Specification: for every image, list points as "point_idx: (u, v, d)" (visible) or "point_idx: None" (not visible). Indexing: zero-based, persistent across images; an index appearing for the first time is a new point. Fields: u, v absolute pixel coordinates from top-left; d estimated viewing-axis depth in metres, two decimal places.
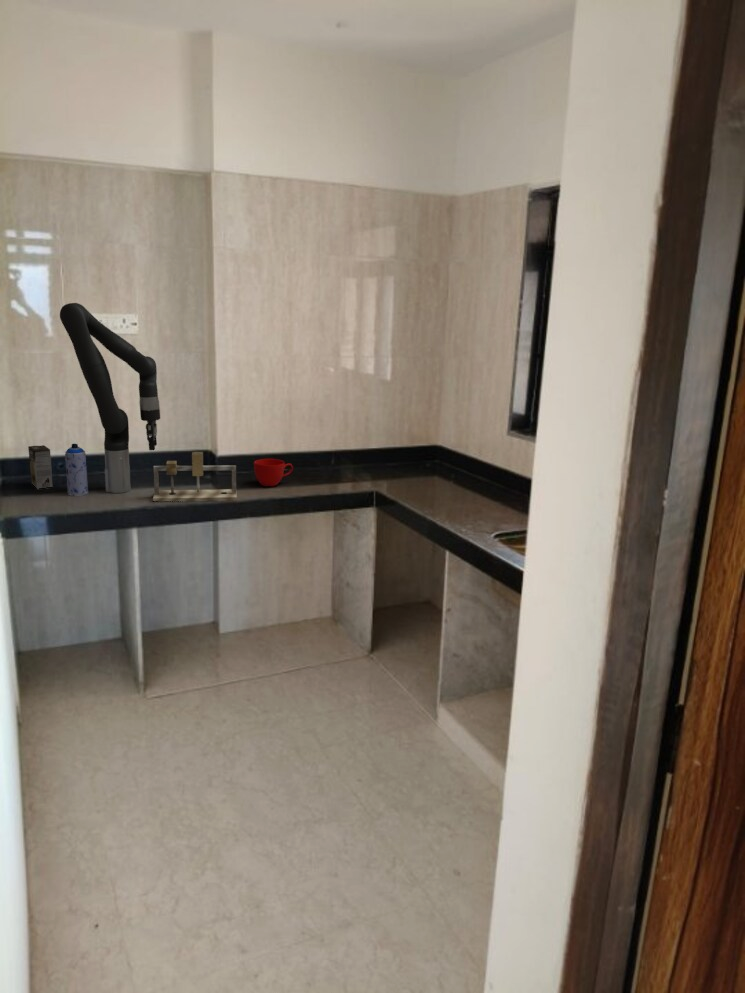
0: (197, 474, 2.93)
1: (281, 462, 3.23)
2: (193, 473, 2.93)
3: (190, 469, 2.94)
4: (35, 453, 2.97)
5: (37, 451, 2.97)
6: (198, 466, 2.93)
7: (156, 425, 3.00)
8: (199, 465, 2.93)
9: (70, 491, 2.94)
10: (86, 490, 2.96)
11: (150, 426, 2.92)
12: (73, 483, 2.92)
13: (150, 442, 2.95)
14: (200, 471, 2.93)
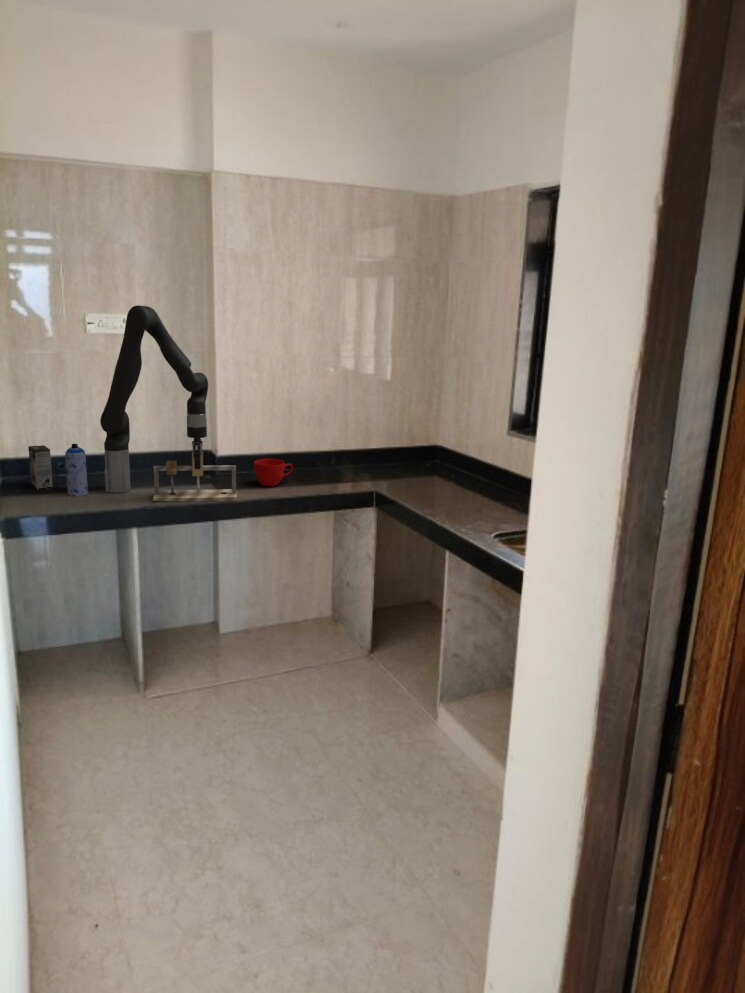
0: (197, 474, 2.93)
1: (281, 462, 3.23)
2: (193, 473, 2.93)
3: (190, 469, 2.94)
4: (35, 453, 2.97)
5: (37, 451, 2.97)
6: None
7: None
8: None
9: (70, 491, 2.94)
10: (86, 490, 2.96)
11: (197, 446, 2.86)
12: (73, 483, 2.92)
13: (196, 461, 2.91)
14: (200, 471, 2.93)
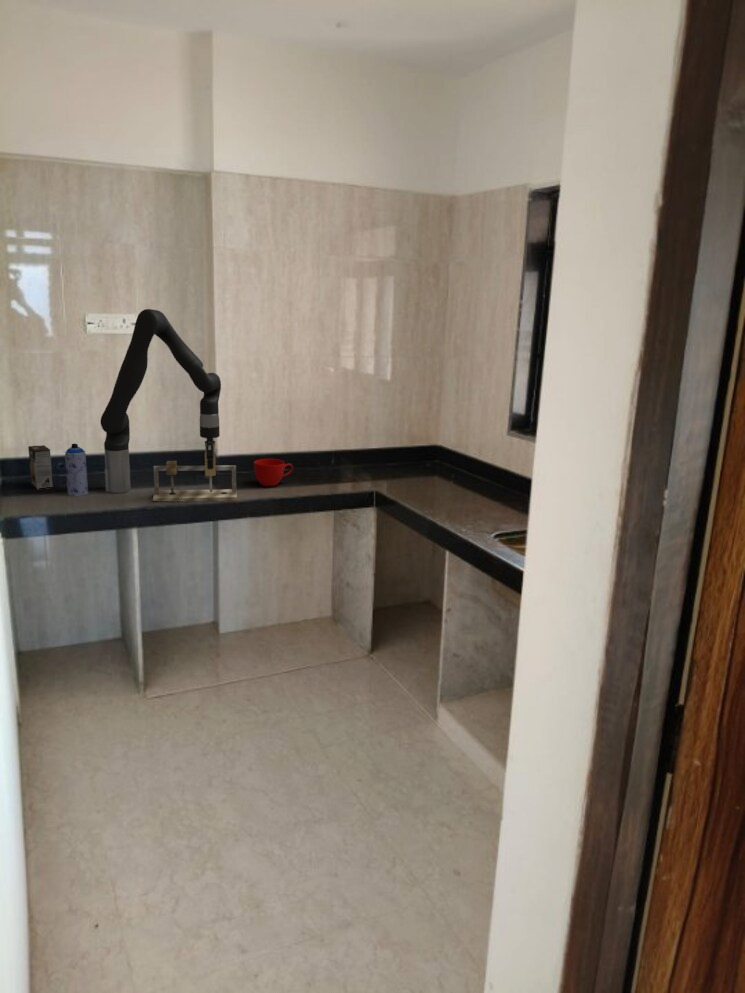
0: (210, 474, 2.94)
1: (281, 462, 3.23)
2: (206, 473, 2.94)
3: (190, 469, 2.94)
4: (35, 453, 2.97)
5: (37, 451, 2.97)
6: None
7: None
8: None
9: (70, 491, 2.94)
10: (86, 490, 2.96)
11: (210, 446, 2.87)
12: (73, 483, 2.92)
13: (209, 461, 2.92)
14: (213, 471, 2.94)
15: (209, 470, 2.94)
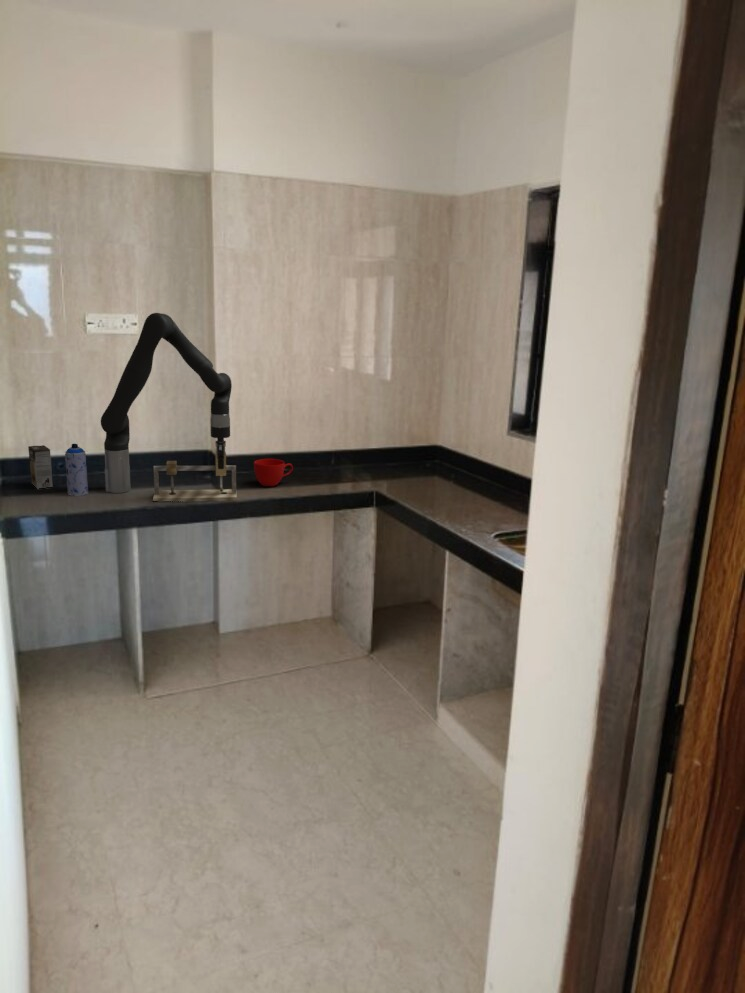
0: (220, 474, 2.95)
1: (281, 462, 3.23)
2: (216, 473, 2.95)
3: (190, 469, 2.94)
4: (35, 453, 2.97)
5: (37, 451, 2.97)
6: None
7: (225, 442, 2.95)
8: None
9: (70, 491, 2.94)
10: (86, 490, 2.96)
11: (221, 446, 2.88)
12: (73, 483, 2.92)
13: (220, 461, 2.92)
14: (224, 471, 2.95)
15: (220, 470, 2.95)
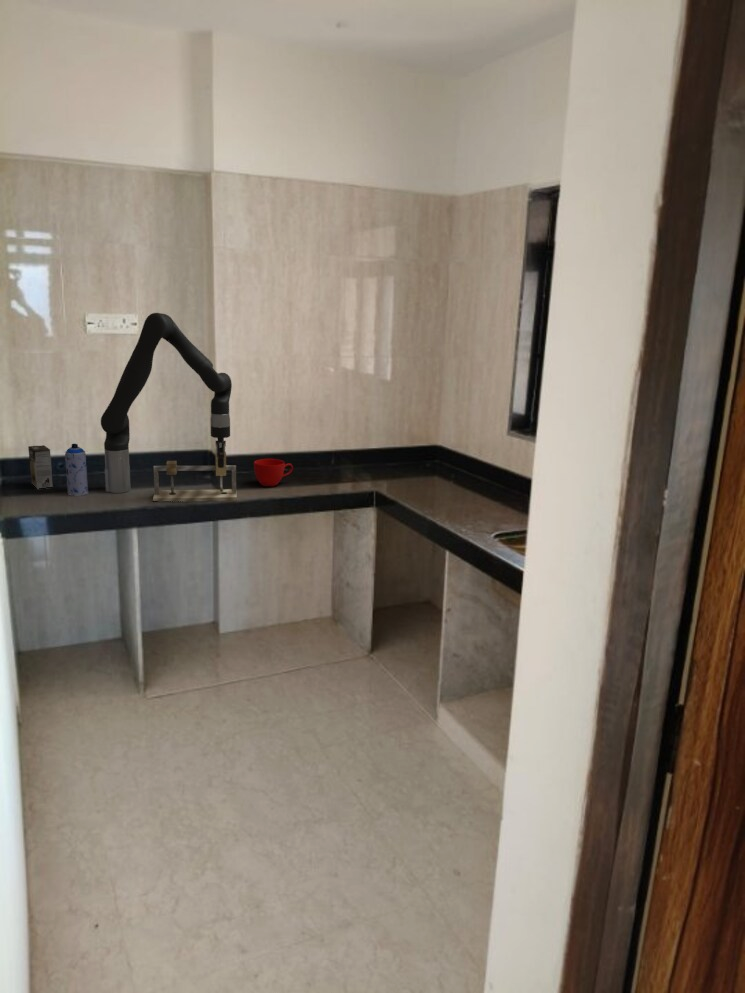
0: (220, 474, 2.95)
1: (281, 462, 3.23)
2: (216, 473, 2.95)
3: (190, 469, 2.94)
4: (35, 453, 2.97)
5: (37, 451, 2.97)
6: None
7: (225, 442, 2.95)
8: None
9: (70, 491, 2.94)
10: (86, 490, 2.96)
11: (221, 443, 2.88)
12: (73, 483, 2.92)
13: (220, 459, 2.91)
14: (224, 471, 2.95)
15: (220, 470, 2.95)
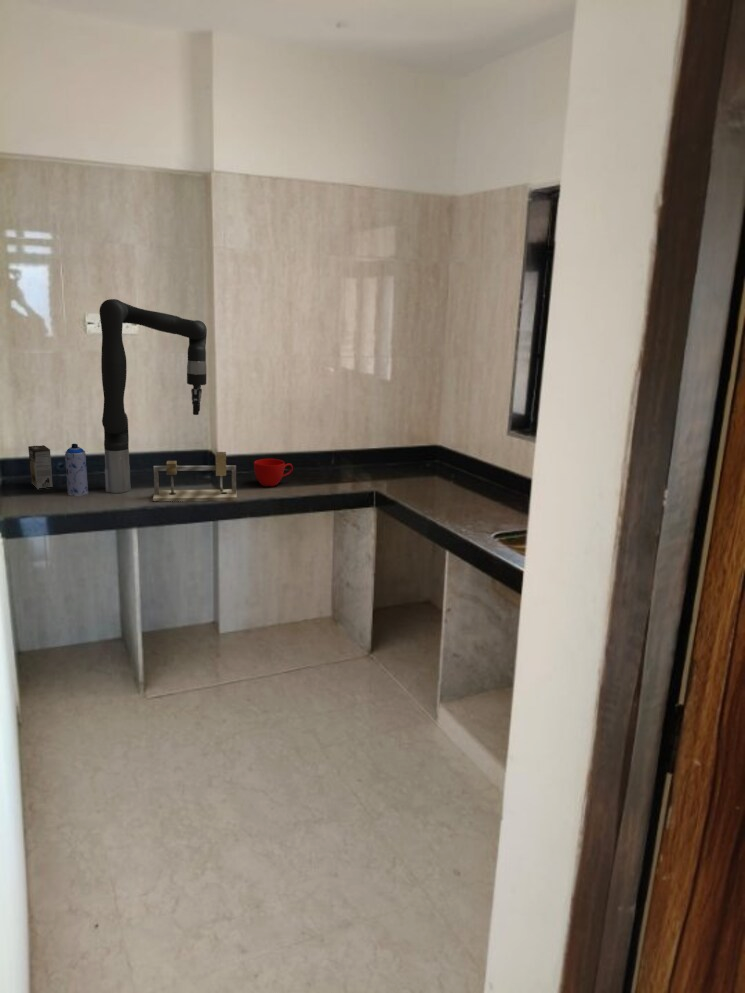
0: (220, 474, 2.95)
1: (281, 462, 3.23)
2: (216, 473, 2.95)
3: (190, 469, 2.94)
4: (35, 453, 2.97)
5: (37, 451, 2.97)
6: (221, 466, 2.94)
7: (201, 390, 2.98)
8: (222, 465, 2.94)
9: (70, 491, 2.94)
10: (86, 490, 2.96)
11: (196, 390, 2.91)
12: (73, 483, 2.92)
13: (195, 406, 2.94)
14: (224, 471, 2.95)
15: (220, 470, 2.95)
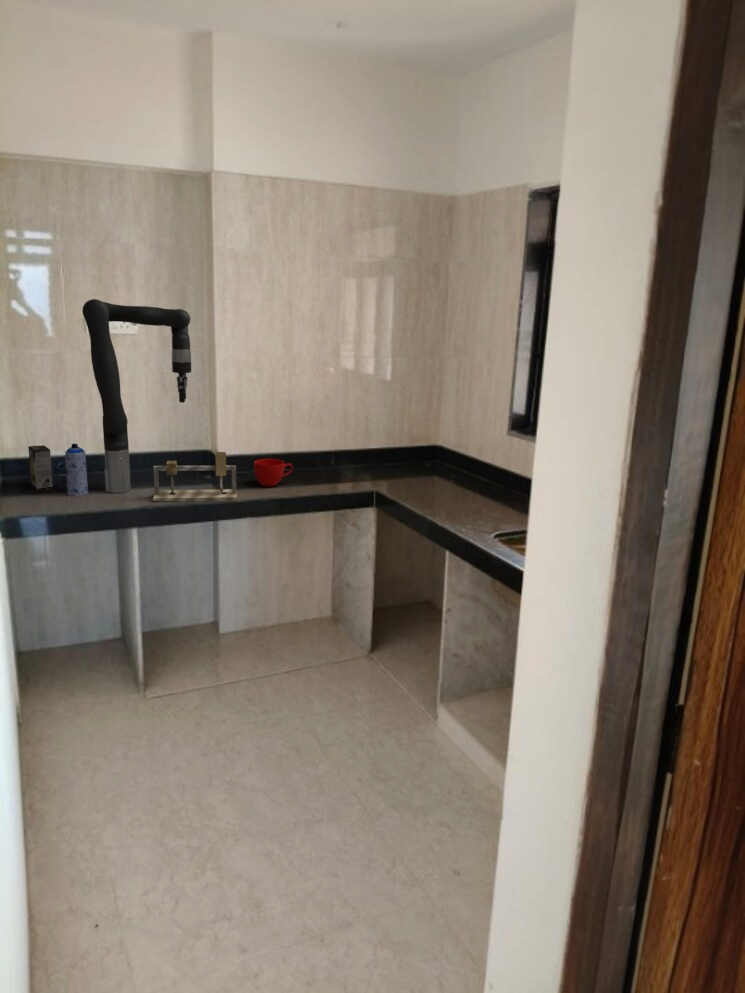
0: (220, 474, 2.95)
1: (281, 462, 3.23)
2: (216, 473, 2.95)
3: (190, 469, 2.94)
4: (35, 453, 2.97)
5: (37, 451, 2.97)
6: (221, 466, 2.94)
7: None
8: (222, 465, 2.94)
9: (70, 491, 2.94)
10: (86, 490, 2.96)
11: (182, 378, 2.95)
12: (73, 483, 2.92)
13: (181, 394, 2.98)
14: (224, 471, 2.95)
15: (220, 470, 2.95)
